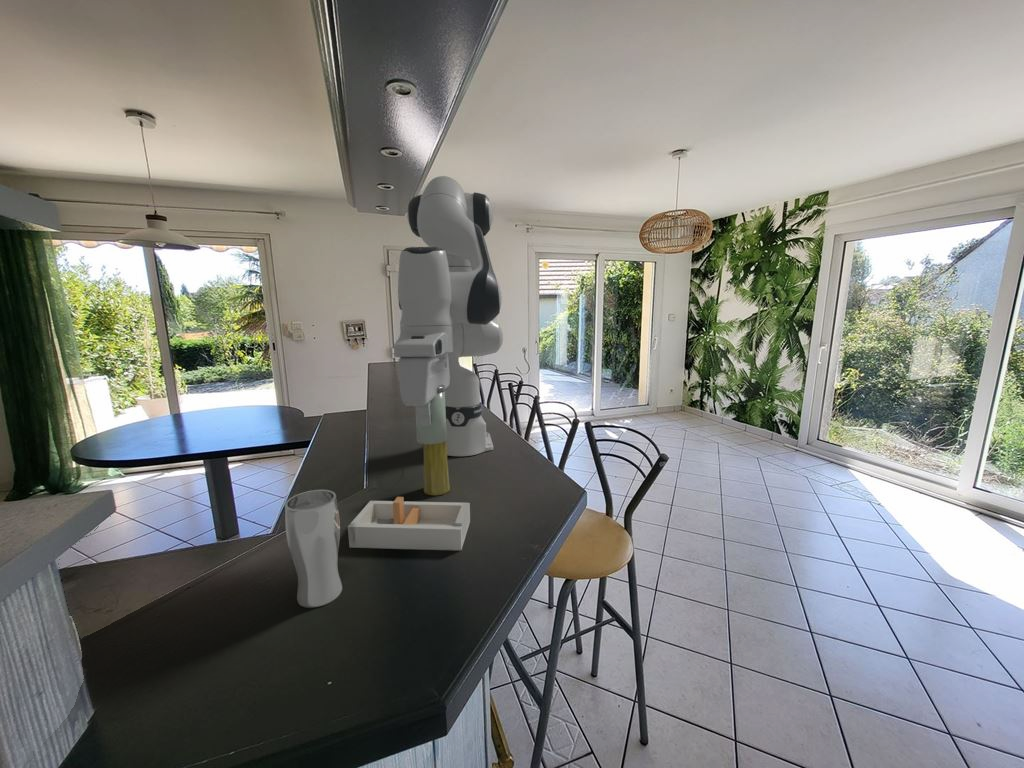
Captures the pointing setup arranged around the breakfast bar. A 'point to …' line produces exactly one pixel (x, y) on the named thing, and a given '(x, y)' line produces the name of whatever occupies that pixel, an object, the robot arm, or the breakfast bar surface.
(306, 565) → the beer glass
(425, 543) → the white tray
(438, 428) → the jar
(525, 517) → the breakfast bar surface
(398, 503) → the pusher
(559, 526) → the breakfast bar surface
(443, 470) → the vase
